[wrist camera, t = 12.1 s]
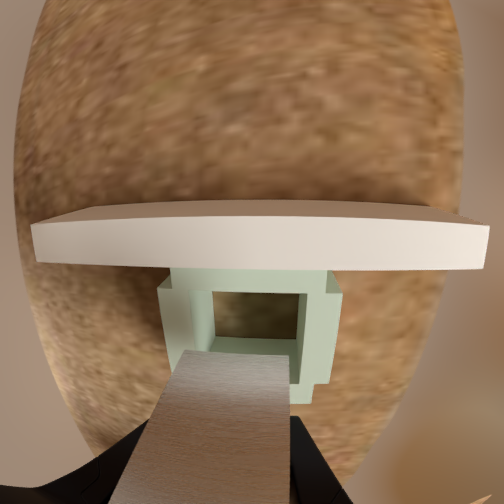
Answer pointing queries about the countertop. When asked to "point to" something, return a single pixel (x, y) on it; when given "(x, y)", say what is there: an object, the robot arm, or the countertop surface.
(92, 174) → the countertop surface
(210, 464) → the grey square block
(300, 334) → the socket block
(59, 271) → the countertop surface
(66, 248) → the backstop wall
